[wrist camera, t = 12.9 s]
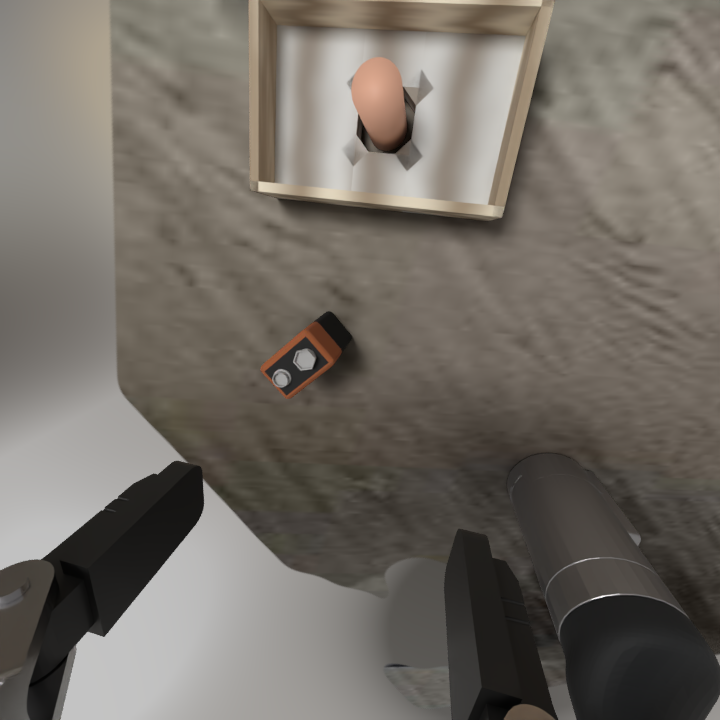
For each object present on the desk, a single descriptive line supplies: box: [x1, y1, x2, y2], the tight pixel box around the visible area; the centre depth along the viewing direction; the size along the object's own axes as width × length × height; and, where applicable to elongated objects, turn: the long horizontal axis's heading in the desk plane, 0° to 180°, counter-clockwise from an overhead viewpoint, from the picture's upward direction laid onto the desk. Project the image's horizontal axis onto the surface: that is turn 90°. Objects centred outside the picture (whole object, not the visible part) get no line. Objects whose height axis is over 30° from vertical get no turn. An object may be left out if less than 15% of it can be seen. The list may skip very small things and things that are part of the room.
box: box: [249, 0, 555, 221], centre depth 29 cm, size 22×14×6 cm, turn 84°
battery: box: [261, 311, 351, 399], centre depth 35 cm, size 4×7×10 cm, turn 130°
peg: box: [351, 57, 407, 151], centre depth 27 cm, size 4×4×9 cm
